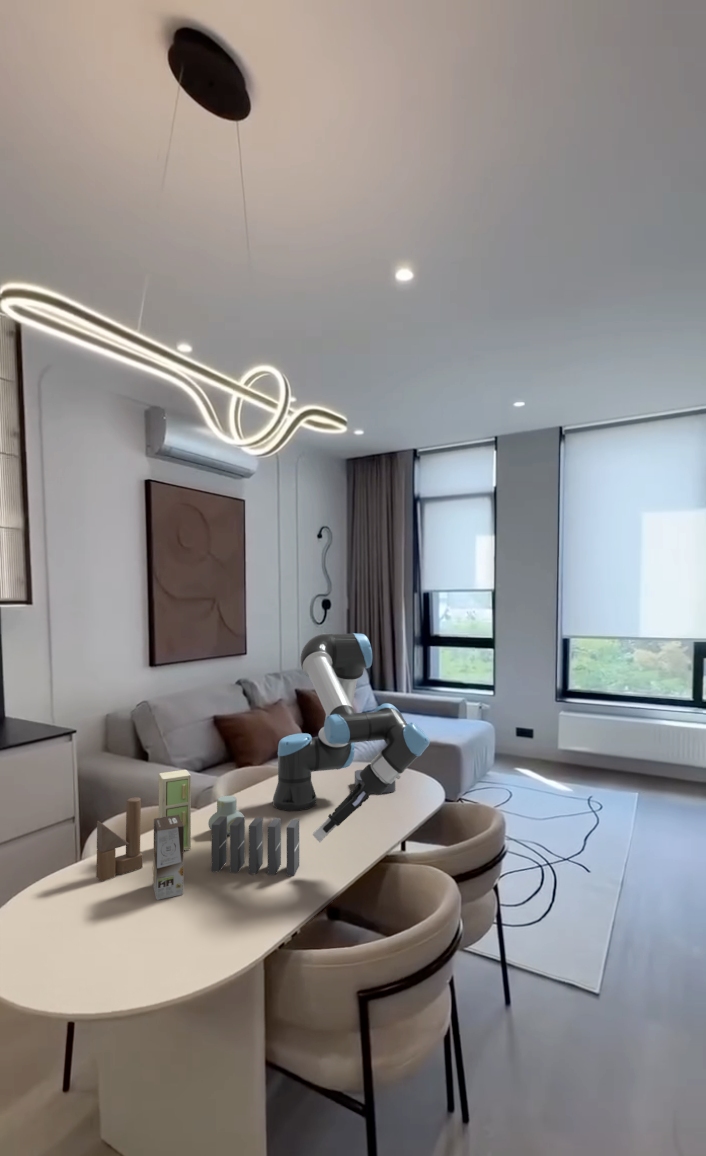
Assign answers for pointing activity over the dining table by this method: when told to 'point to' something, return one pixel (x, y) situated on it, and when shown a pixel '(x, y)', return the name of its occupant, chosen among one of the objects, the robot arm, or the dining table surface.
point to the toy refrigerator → (176, 799)
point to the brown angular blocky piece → (120, 845)
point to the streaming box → (388, 790)
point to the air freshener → (226, 811)
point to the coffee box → (168, 856)
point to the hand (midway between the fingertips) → (316, 837)
